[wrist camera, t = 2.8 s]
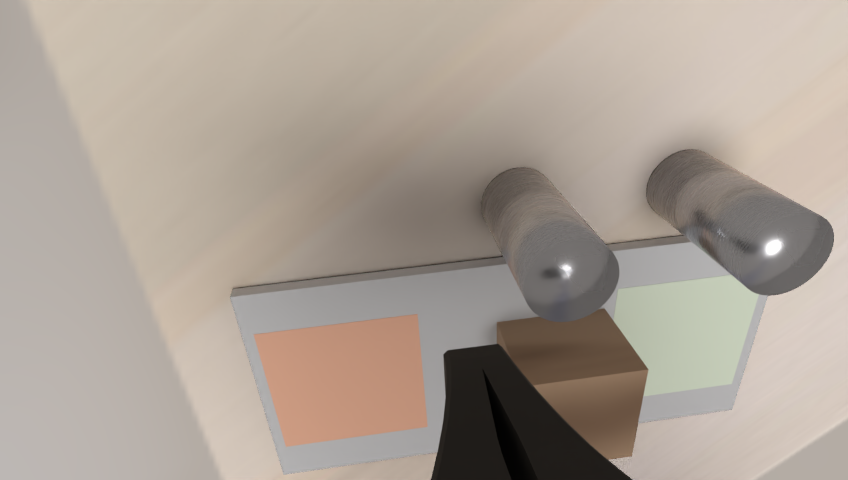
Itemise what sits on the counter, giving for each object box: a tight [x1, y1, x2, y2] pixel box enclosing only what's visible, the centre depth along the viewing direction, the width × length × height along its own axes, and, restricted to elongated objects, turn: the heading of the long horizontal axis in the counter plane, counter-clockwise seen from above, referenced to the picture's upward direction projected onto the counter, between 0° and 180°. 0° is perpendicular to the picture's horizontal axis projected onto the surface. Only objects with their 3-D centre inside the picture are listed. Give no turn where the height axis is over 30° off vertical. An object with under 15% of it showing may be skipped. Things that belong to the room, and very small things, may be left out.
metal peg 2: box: [647, 150, 834, 296], centre depth 19 cm, size 3×3×6 cm
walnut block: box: [497, 308, 649, 460], centre depth 23 cm, size 5×5×4 cm
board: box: [230, 235, 768, 475], centre depth 24 cm, size 11×24×1 cm, turn 94°
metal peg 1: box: [481, 168, 619, 322], centre depth 18 cm, size 3×3×6 cm
